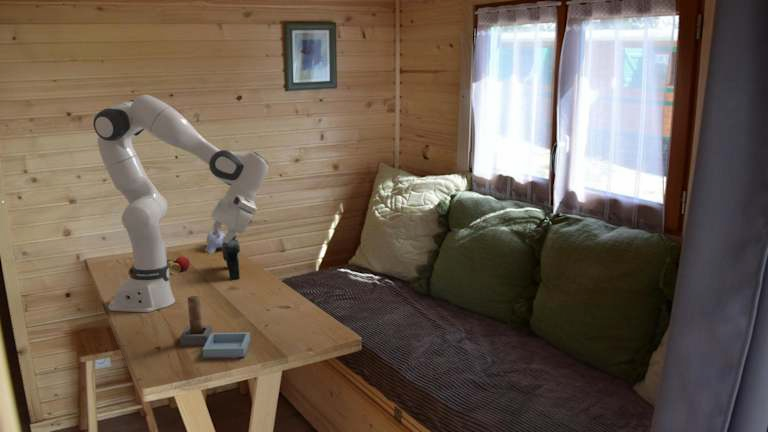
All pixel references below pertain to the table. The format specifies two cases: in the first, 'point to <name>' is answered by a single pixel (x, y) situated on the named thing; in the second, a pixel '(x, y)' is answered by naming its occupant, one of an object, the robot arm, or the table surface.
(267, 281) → the table surface
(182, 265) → the kendama
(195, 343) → the socket block
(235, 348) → the tray
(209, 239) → the hippopotamus toy
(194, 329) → the dowel
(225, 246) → the ceramic cat
